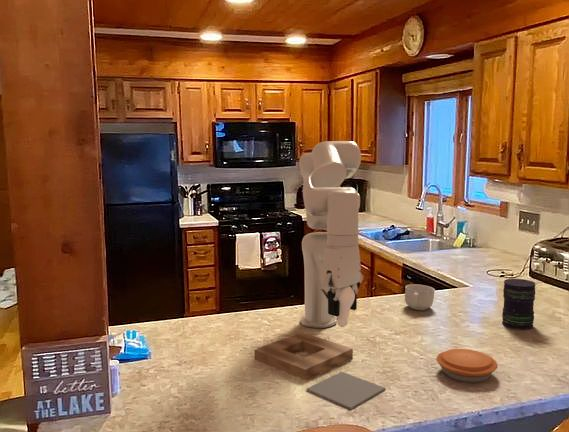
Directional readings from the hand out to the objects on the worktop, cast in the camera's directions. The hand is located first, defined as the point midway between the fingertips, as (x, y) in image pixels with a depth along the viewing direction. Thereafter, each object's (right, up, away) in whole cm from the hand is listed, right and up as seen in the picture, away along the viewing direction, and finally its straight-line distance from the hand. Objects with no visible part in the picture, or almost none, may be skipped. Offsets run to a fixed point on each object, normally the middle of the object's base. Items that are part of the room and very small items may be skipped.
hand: (342, 311), depth 130 cm
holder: (-9, -17, +21) cm, 28 cm away
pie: (+34, -19, +10) cm, 40 cm away
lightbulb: (0, -4, +1) cm, 4 cm away
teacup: (+36, -11, +66) cm, 76 cm away
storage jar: (+65, -13, +47) cm, 81 cm away
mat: (+1, -20, +1) cm, 20 cm away
